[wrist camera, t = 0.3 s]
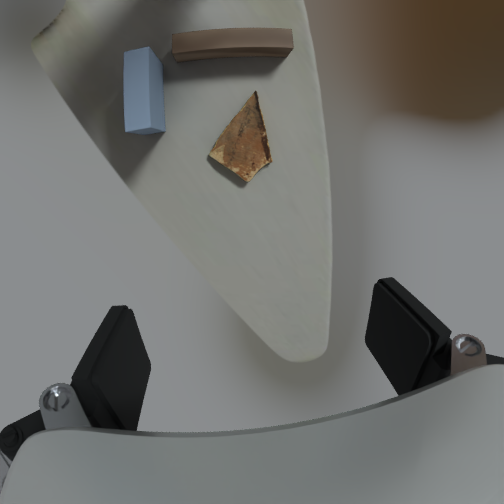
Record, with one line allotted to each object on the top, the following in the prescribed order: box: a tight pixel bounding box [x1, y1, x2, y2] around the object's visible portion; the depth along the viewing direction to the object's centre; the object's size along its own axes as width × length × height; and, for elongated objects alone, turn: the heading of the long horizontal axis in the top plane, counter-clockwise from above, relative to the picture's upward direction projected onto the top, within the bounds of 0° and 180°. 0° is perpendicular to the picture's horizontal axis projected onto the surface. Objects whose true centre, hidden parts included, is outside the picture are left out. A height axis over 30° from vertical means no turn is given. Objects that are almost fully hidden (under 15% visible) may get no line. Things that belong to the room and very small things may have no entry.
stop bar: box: [172, 28, 294, 62], centre depth 28 cm, size 3×15×4 cm, turn 93°
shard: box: [209, 91, 272, 182], centre depth 35 cm, size 11×8×2 cm
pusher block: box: [124, 46, 166, 135], centre depth 28 cm, size 3×10×8 cm, turn 3°
